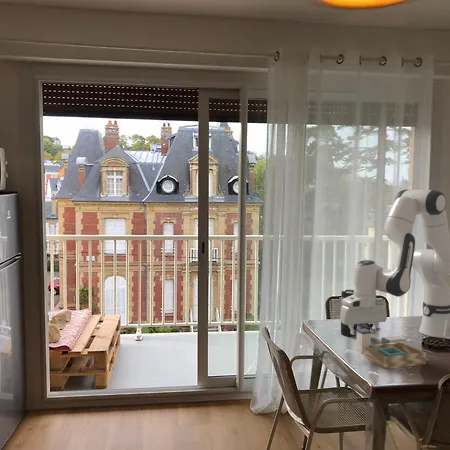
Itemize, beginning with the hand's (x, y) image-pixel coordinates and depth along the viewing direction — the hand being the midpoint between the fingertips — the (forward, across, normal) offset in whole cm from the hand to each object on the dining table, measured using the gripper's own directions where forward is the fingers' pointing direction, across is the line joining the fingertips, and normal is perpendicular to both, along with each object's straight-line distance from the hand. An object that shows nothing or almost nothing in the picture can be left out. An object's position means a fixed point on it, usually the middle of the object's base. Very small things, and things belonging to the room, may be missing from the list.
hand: (363, 333), depth 191 cm
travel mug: (+8, -8, -22) cm, 25 cm away
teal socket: (+8, -4, +13) cm, 16 cm away
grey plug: (+7, -16, -1) cm, 18 cm away
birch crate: (+8, -6, +12) cm, 15 cm away
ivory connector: (+8, 0, 0) cm, 8 cm away
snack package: (+8, -20, -29) cm, 36 cm away
